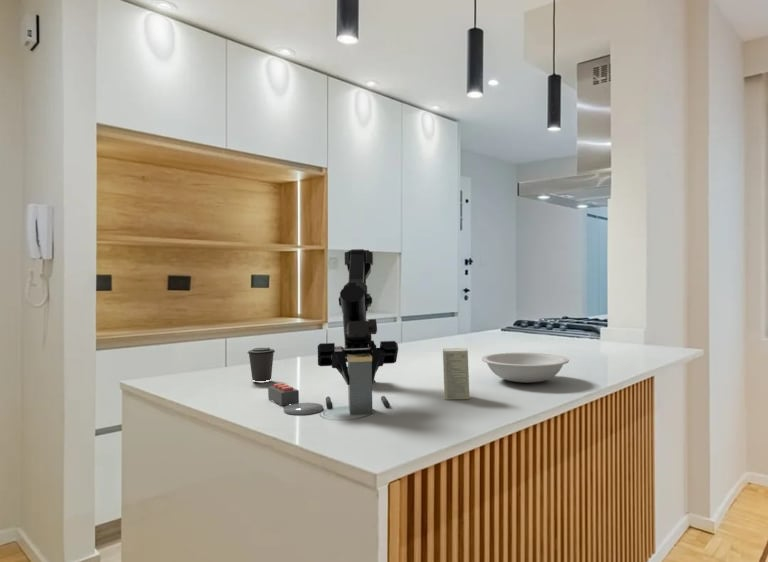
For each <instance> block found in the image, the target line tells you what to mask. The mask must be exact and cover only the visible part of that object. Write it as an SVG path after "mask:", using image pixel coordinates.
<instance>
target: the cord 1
mask: <svg viewBox="0 0 768 562" xmlns="http://www.w3.org/2000/svg"><path fill="white" fill-rule="evenodd" d="M325 404H326V408H327V409H331V408H332V399H331V397H330V396H326V398H325Z"/></svg>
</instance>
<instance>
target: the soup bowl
mask: <svg viewBox="0 0 768 562" xmlns="http://www.w3.org/2000/svg"><path fill="white" fill-rule="evenodd" d="M481 361H482V362H484V363H486V364H487V366H488V368H489V369H490V371H491V372H492V373H493V374H494V375H496V376H497V377H499V378H501V379H503V380H506V381H510V382H515V383H526V384H527V383H528V384H529V383H540V382H544V381H548V380H550V379H552V378H554V377H555V376H556V375H557V374H558V373H559V372H560V371H561V370H562V368H563V366H564V365H566V364H568V363H569V359H568V358H567V357H564V356H561V355H556V354H550V353H543V352H542V353H541V352H540V353H539V352H502V353H501V352H500V353H491V354H487V355H484V356H482V357H481Z"/></svg>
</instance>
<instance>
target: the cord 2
mask: <svg viewBox="0 0 768 562" xmlns="http://www.w3.org/2000/svg"><path fill="white" fill-rule="evenodd" d="M380 400H381V402H382V404H383V406H384V407H385V408H390V407H391V404H390V402H389V400H388V398H387V397H386V396H385V395H382V396H381V397H380Z"/></svg>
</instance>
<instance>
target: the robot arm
mask: <svg viewBox="0 0 768 562" xmlns="http://www.w3.org/2000/svg"><path fill="white" fill-rule="evenodd" d="M344 266H346V268H347V273H348V282H347V283H345V284H344V286H343V288H342V289H340V292H339V297H338V305H339V307H340V308H341V313H342V324H343V326H342V327H343V336H344V337H343V338H344V347H343V346H342V345H340V346H339V345H338V346H335V345H336V344H335V342H327V343H326V342H320V343H319V344H318V345H317V365H318V366H319V367H331V368H332V369H336V370H337V371H338V373H339V374H340V375H341V376H342V379H343V380H344V382H345V384H346V385H347V386H348V385H349V374H348V359H347V354H369V353H370V355H371V356H372V385H373V384H374V383H376V379H375V378H376V374H377V371H378V369H379V367H383V366H384V364H396V362H397V358H398V353H399V345H398V343H397V342H396V341H395V340H383V341H381V340H380V342H379V347H377V344H375V340H372V338H373V337H372V335H376V334H377V333H378V325H377V319H376V318H374V319H373V318H372V319H370V318H369V319H368V320H367V312H368V310H369V309H368V308H371V306H372V304H373V297H372V296H371V293H368V285H367V279H368V278H369V276H370V274H371V272H372V266H374V252H373V251H370V249H364V248H362V249H361V248H360V249H358V248H357V249H356V248H355V249H350V250H348V251H345V252H344Z"/></svg>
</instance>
